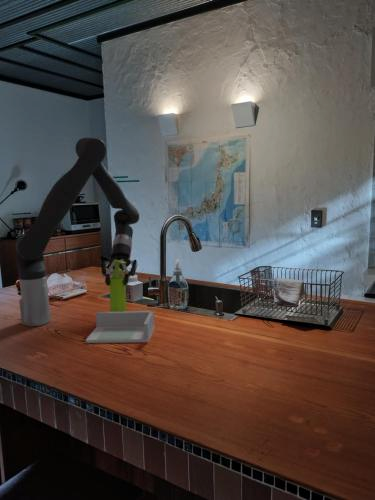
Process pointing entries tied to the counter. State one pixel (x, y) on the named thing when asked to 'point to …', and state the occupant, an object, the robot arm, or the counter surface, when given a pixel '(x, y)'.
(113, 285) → the soap dispenser
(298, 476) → the counter surface
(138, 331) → the grey corner tray
